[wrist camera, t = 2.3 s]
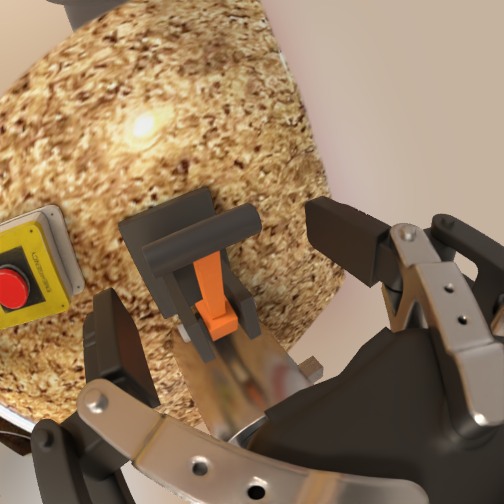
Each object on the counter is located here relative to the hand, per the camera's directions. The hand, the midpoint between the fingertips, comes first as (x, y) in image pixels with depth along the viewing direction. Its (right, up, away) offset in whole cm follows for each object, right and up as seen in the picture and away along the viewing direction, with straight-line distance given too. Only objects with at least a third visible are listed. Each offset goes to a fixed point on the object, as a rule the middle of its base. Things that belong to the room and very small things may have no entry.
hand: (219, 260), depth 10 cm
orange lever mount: (-6, 0, +17) cm, 18 cm away
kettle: (-3, -11, +26) cm, 28 cm away
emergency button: (-22, -1, +8) cm, 24 cm away
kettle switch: (-2, -1, +6) cm, 7 cm away
